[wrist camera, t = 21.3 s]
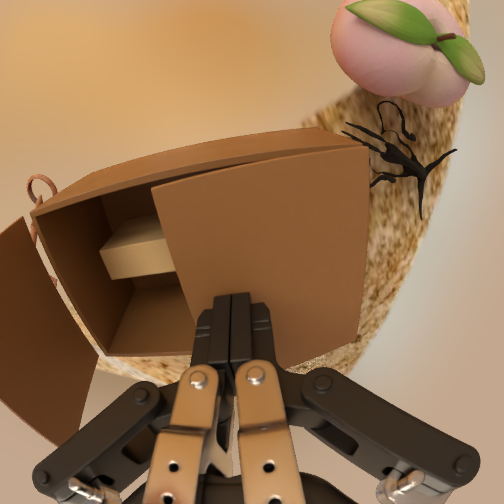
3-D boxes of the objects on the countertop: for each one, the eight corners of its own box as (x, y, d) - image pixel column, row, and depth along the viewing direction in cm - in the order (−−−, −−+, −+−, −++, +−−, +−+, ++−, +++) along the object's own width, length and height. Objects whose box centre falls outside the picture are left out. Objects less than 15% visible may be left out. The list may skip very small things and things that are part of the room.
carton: (315, 127, 18) (522, 227, 3) (323, 264, 24) (395, 451, 9) (83, 175, 19) (-76, 306, 4) (126, 291, 25) (62, 453, 10)
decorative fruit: (416, 24, 13) (499, 7, 4) (417, 110, 17) (508, 130, 8) (308, -4, 13) (356, -67, 4) (309, 91, 17) (370, 81, 8)
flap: (364, 145, 10) (368, 146, 10) (353, 337, 16) (356, 340, 16) (151, 187, 9) (150, 189, 9) (222, 385, 15) (223, 389, 14)
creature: (319, 170, 21) (399, 214, 21) (325, 181, 16) (423, 237, 16) (358, 86, 17) (438, 137, 17) (376, 73, 12) (471, 142, 13)
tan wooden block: (133, 246, 22) (111, 280, 18) (124, 220, 21) (98, 251, 16) (300, 218, 21) (315, 250, 17) (297, 189, 20) (313, 215, 16)
